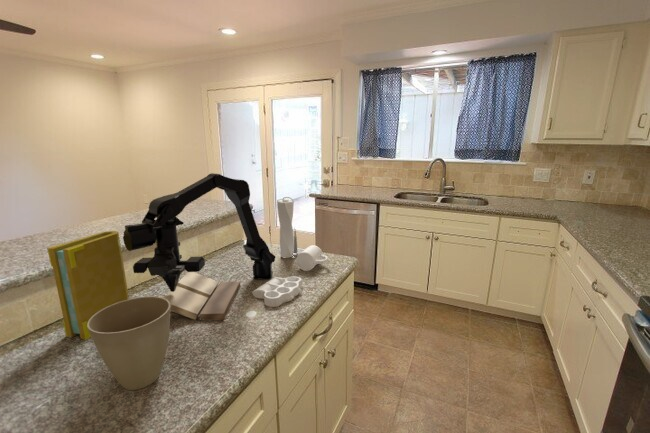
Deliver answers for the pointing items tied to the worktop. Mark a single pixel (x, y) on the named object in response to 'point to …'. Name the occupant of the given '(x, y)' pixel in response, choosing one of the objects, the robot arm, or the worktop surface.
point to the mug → (310, 258)
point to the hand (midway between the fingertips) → (173, 291)
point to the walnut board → (220, 301)
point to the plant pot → (132, 339)
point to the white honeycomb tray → (279, 290)
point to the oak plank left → (186, 302)
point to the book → (88, 278)
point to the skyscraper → (286, 228)
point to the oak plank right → (198, 284)
